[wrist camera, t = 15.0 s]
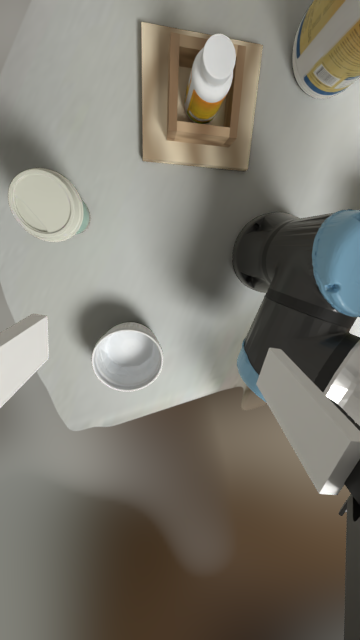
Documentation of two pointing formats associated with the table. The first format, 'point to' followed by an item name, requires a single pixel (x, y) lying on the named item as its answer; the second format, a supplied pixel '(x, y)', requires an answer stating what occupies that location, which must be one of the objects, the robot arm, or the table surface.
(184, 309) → the table surface
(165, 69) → the birch rack
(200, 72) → the supplement bottle
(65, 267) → the table surface
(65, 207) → the coffee cup
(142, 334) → the ramekin
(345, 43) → the supplement tub
